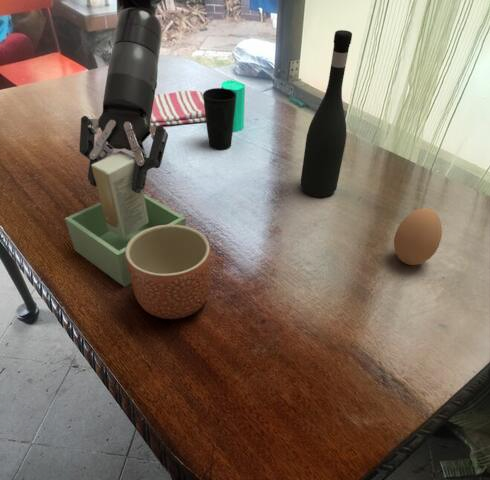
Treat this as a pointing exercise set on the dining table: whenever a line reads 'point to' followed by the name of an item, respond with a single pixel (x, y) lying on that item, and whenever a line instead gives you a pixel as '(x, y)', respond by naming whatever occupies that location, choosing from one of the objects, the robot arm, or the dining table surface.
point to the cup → (219, 116)
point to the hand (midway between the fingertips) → (115, 188)
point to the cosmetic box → (119, 194)
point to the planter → (169, 270)
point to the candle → (237, 102)
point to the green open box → (113, 237)
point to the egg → (418, 236)
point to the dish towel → (178, 108)
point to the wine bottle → (327, 129)
